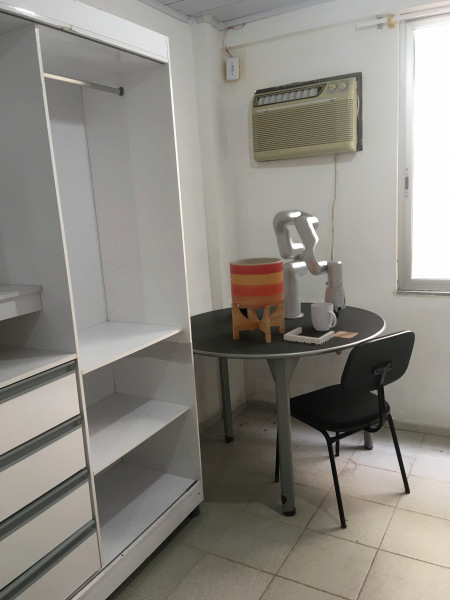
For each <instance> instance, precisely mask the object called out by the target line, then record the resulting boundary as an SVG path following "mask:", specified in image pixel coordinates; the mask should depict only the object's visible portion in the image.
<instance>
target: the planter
mask: <svg viewBox="0 0 450 600" xmlns="http://www.w3.org/2000/svg"><path fill="white" fill-rule="evenodd" d="M283 264H284V259H283V258H281V257H280V258H279V257H267V256H265V257H249V258H239V259H235V260H231V261H230V262H229V275H230V276H229V277H230V296H231V314H232V315H231V316H232V335H233V338H232V339H233V340H236V341H237V340H240V331H247V330H249V331H250V332H253V331H254V330H256V329H259V330H260V331H261V332H263V333H265V342H266V343H268V344H269V343H272V335H271V334H272V333H271V331H272V330H271V327H277V326H278V332H279V333H280V334H286V324H285V322H286V321H285V318H284V279H283ZM239 307H242V308H247V309H248V315H249V317H248V319H247V318H246V317H244V316H243V315H242V313H241V312H240V310H239ZM273 307H275V308H274V309H273V311H272V312H270V311H271V309H270V308H273ZM259 309H263V314H262V315H263V316H262V318H261V320H260V319H259V318H258V316H257V313H256V311H255V310H259Z"/></svg>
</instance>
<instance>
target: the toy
mask: <svg viewBox="0 0 450 600" xmlns="http://www.w3.org/2000/svg"><path fill="white" fill-rule="evenodd" d="M238 307H239V306H238ZM239 310H240V312H241V313H242V315H243V316H244V317H246V318H247V319H249V315H248V309H247V308H242V307H239Z"/></svg>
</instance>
